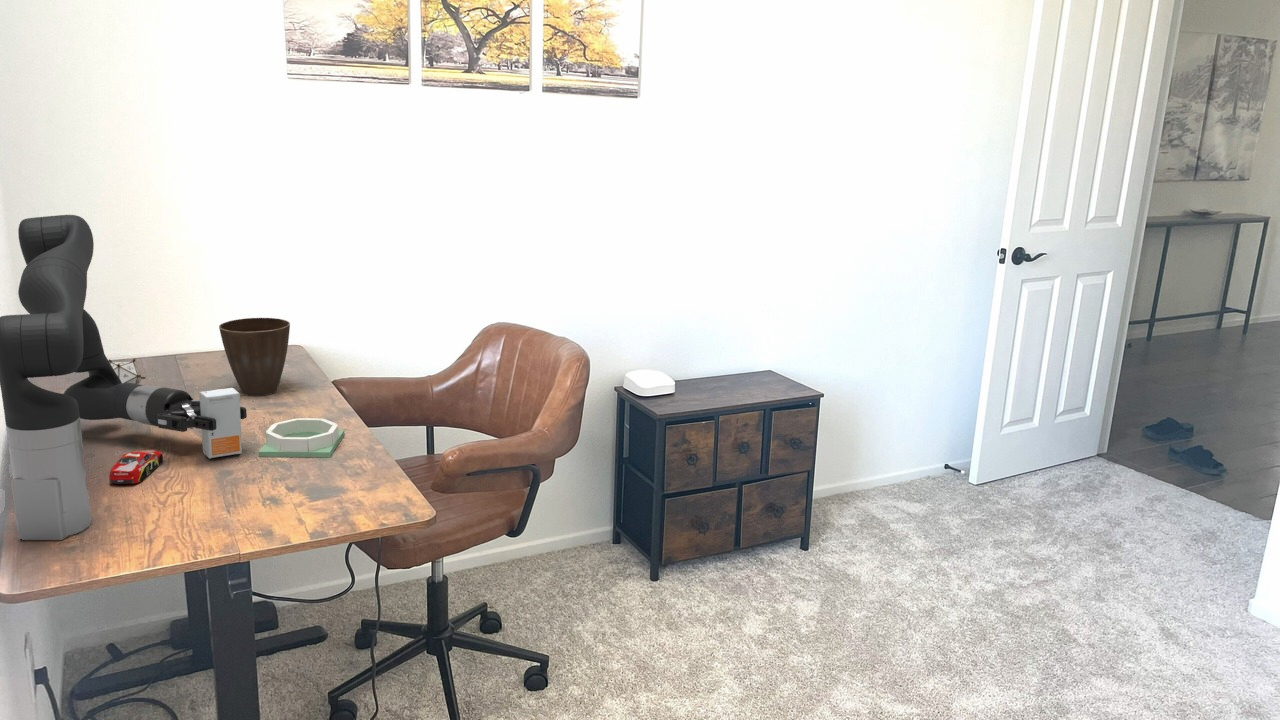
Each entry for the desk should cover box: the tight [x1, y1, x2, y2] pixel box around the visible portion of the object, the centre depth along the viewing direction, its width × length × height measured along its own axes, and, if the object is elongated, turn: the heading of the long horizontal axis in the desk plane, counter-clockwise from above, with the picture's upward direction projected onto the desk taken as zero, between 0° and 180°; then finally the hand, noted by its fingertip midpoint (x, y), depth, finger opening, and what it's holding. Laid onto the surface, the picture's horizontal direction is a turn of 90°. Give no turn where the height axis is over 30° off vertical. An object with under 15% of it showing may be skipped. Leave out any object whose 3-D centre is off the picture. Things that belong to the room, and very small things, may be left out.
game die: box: [108, 358, 146, 385], centre depth 204 cm, size 9×8×10 cm
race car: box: [108, 449, 164, 485], centre depth 161 cm, size 13×5×4 cm, turn 5°
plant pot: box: [218, 317, 291, 396], centre depth 209 cm, size 15×15×16 cm
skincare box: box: [199, 387, 243, 459], centre depth 170 cm, size 6×4×12 cm
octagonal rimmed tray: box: [258, 417, 345, 458], centre depth 178 cm, size 13×13×4 cm
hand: (230, 419), depth 169 cm, fingers closed on skincare box, 7 cm apart
